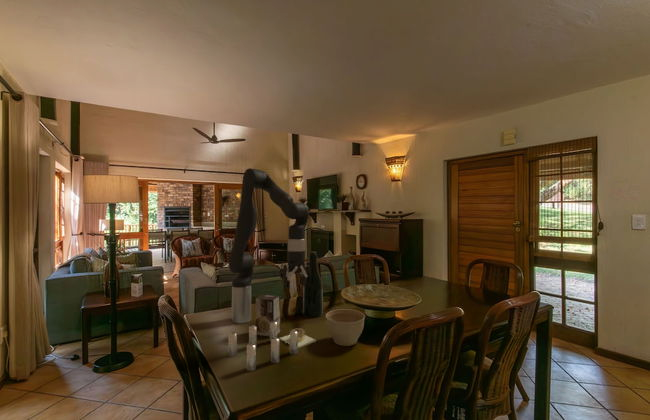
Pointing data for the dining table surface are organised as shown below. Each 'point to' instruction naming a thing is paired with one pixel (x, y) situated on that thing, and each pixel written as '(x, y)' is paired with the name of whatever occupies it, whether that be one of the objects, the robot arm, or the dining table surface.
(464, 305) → the dining table surface
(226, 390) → the dining table surface
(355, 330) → the planter bowl
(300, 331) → the brass nut
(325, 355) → the dining table surface
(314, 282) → the beer bottle
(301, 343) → the pad
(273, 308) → the coffee box
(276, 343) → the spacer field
